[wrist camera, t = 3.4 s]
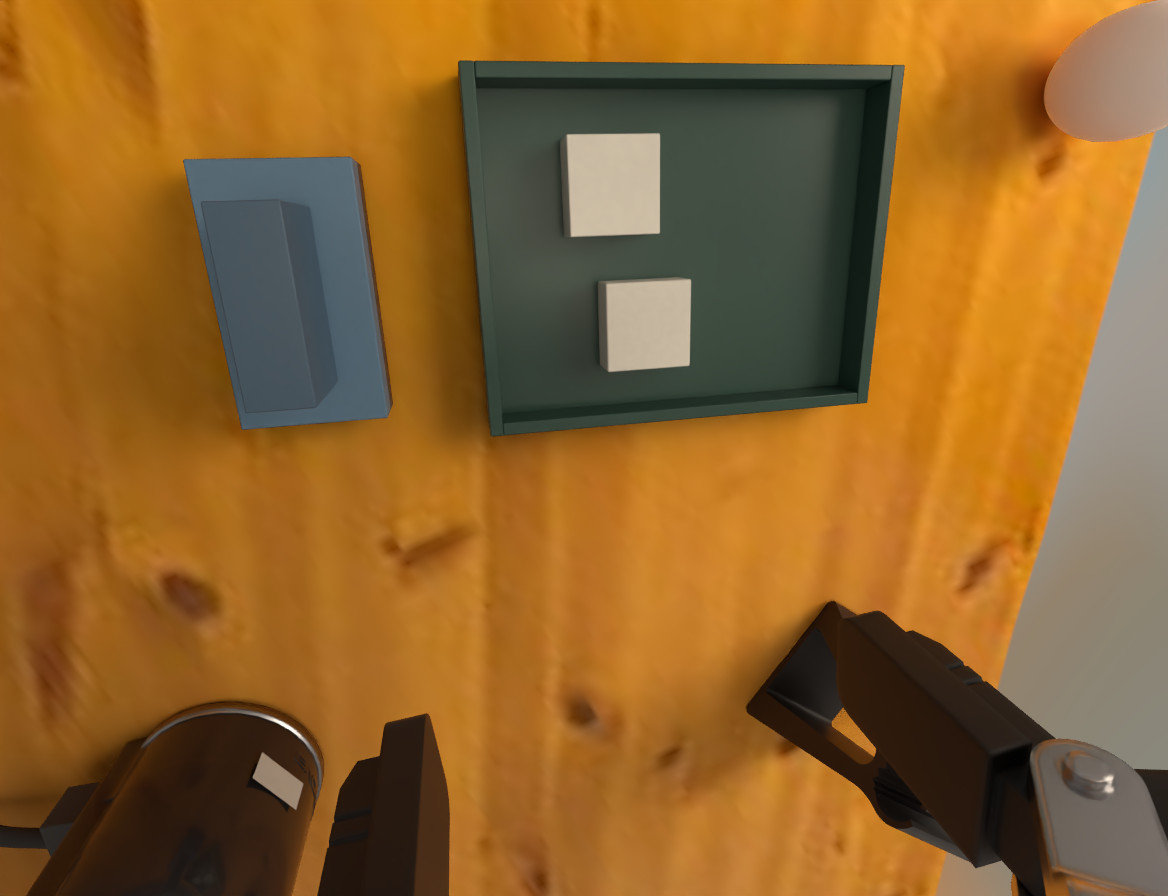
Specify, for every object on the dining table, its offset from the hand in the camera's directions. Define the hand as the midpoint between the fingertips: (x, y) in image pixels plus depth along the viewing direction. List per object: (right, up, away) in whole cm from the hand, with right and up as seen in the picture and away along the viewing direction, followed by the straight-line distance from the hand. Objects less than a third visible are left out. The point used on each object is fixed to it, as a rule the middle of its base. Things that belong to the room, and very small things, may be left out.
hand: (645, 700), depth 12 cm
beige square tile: (+1, +11, +19) cm, 22 cm away
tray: (+3, +14, +18) cm, 23 cm away
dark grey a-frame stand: (+14, -9, +29) cm, 33 cm away
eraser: (-13, +12, +16) cm, 24 cm away
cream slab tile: (0, +16, +16) cm, 23 cm away
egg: (+23, +23, +20) cm, 38 cm away
